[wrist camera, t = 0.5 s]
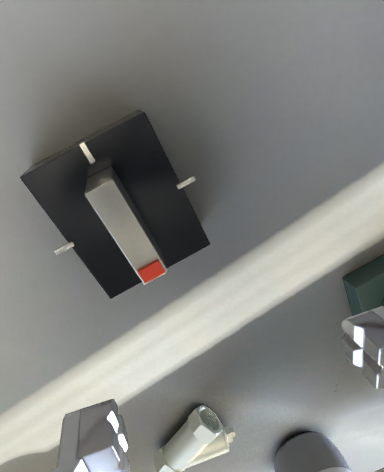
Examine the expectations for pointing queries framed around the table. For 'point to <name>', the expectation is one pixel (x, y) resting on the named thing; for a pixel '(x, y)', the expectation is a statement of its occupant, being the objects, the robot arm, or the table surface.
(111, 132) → the rotary switch base
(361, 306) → the block
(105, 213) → the rotary switch knob
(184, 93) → the table surface
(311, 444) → the smart speaker
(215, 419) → the pipe fitting
